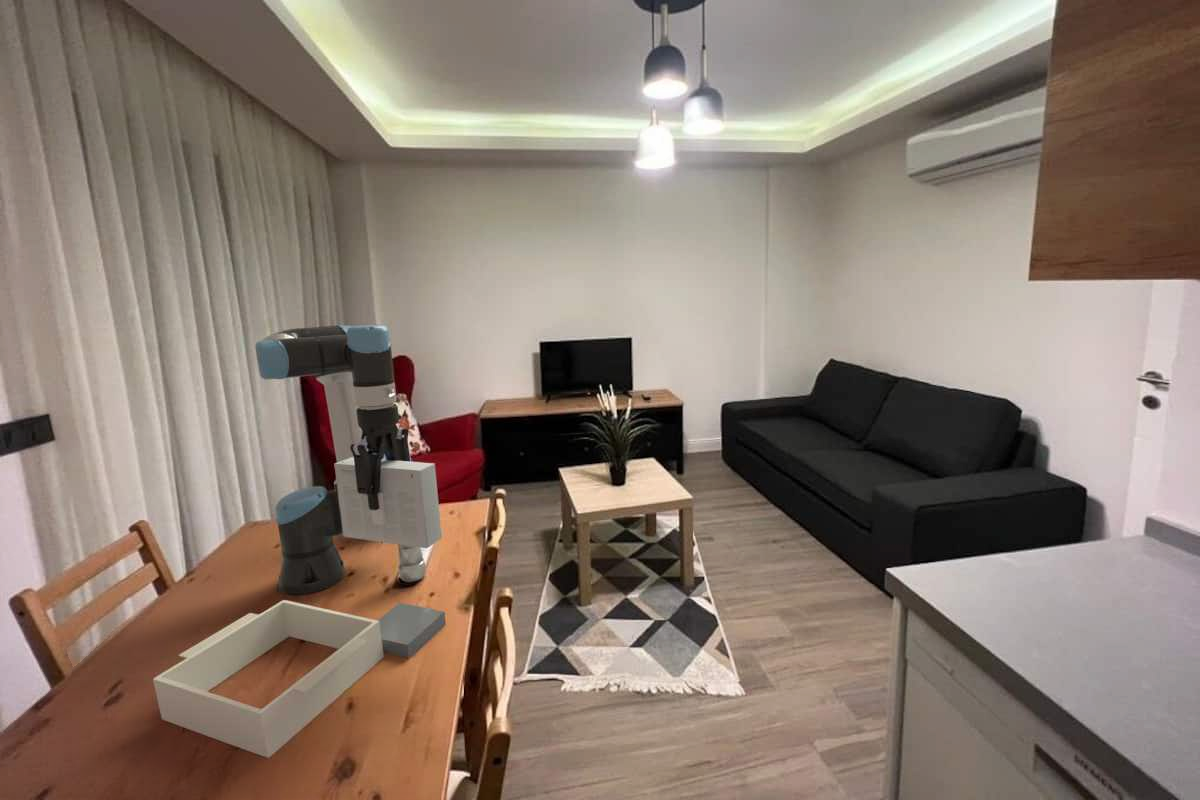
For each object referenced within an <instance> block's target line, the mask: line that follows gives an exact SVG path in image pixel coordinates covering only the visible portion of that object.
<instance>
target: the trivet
mask: <svg viewBox="0 0 1200 800" xmlns="http://www.w3.org/2000/svg"><path fill="white" fill-rule="evenodd" d="M377 621H379V623H380V631H381V639H382V647H383V653H386V654H389V655H394V656H399V657H402V658H406V659H410V658H411V657H412V656H413V655H415V653H417V652H418V651H419V650H420V649H421V648H422V647H423V646H424V645H425V644H427V642H429V641H430V640H431V639H432V637H434V636H435V635H436V634H437V633H438V632H439V631H441V629H442V628H443V627H444V626H445V625H446V614H445V611H443V610H439V609H433V608H428V607H423V606H418V605H412V604H408V603H404V602H399V603H398V604H396V605H395V606H394V607H392V608H391V609H389V610H388V611H387V612H386V613H385V614H383V615H382V616H380V617H379V618H378V619H377Z"/></svg>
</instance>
